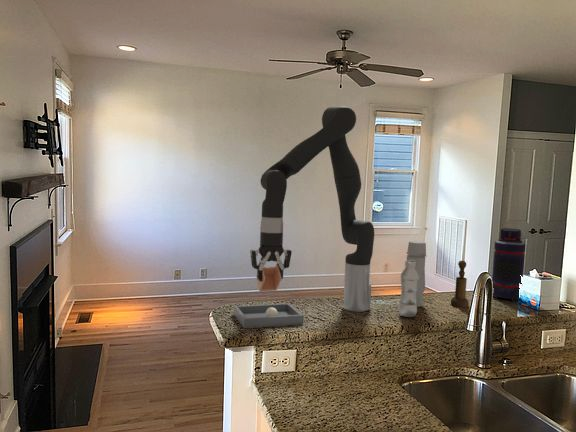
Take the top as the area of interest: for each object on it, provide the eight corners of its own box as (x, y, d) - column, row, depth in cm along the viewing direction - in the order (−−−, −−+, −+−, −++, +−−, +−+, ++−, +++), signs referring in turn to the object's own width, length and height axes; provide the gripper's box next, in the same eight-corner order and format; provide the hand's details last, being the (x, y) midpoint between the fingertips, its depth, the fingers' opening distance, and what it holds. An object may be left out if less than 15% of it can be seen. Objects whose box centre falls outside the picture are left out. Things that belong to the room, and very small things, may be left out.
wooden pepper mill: (470, 305, 185) (473, 260, 184) (466, 308, 180) (469, 262, 178) (452, 302, 189) (455, 258, 187) (449, 305, 183) (451, 260, 182)
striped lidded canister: (520, 303, 191) (525, 231, 189) (489, 298, 197) (494, 228, 195) (522, 296, 203) (527, 228, 201) (493, 292, 209) (497, 226, 207)
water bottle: (413, 309, 176) (417, 243, 174) (399, 303, 183) (402, 241, 181) (430, 306, 181) (434, 243, 179) (416, 301, 188) (419, 240, 186)
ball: (279, 318, 152) (273, 321, 155) (279, 307, 154) (273, 310, 157) (269, 316, 150) (263, 319, 153) (269, 305, 152) (263, 308, 155)
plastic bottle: (414, 314, 169) (418, 260, 167) (418, 319, 162) (421, 263, 161) (396, 313, 170) (399, 259, 168) (399, 318, 163) (402, 262, 161)
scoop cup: (273, 275, 162) (278, 263, 156) (276, 290, 158) (281, 278, 152) (256, 276, 160) (260, 264, 154) (259, 291, 156) (263, 279, 151)
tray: (288, 311, 167) (288, 303, 166) (303, 324, 153) (303, 315, 152) (233, 314, 160) (234, 306, 160) (244, 328, 146) (244, 319, 146)
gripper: (253, 232, 147) (251, 284, 149) (296, 231, 152) (294, 282, 153) (247, 229, 154) (246, 279, 156) (288, 229, 159) (286, 277, 160)
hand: (270, 280), depth 154 cm, fingers closed on scoop cup, 6 cm apart
